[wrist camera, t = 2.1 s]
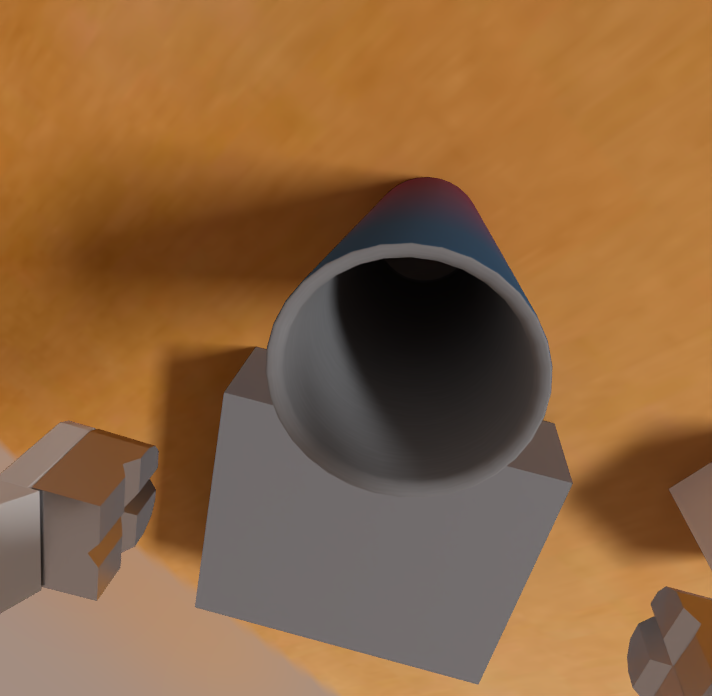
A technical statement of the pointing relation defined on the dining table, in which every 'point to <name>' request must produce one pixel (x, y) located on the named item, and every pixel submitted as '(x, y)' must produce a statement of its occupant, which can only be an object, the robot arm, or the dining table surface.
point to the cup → (411, 351)
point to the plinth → (369, 544)
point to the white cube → (697, 507)
